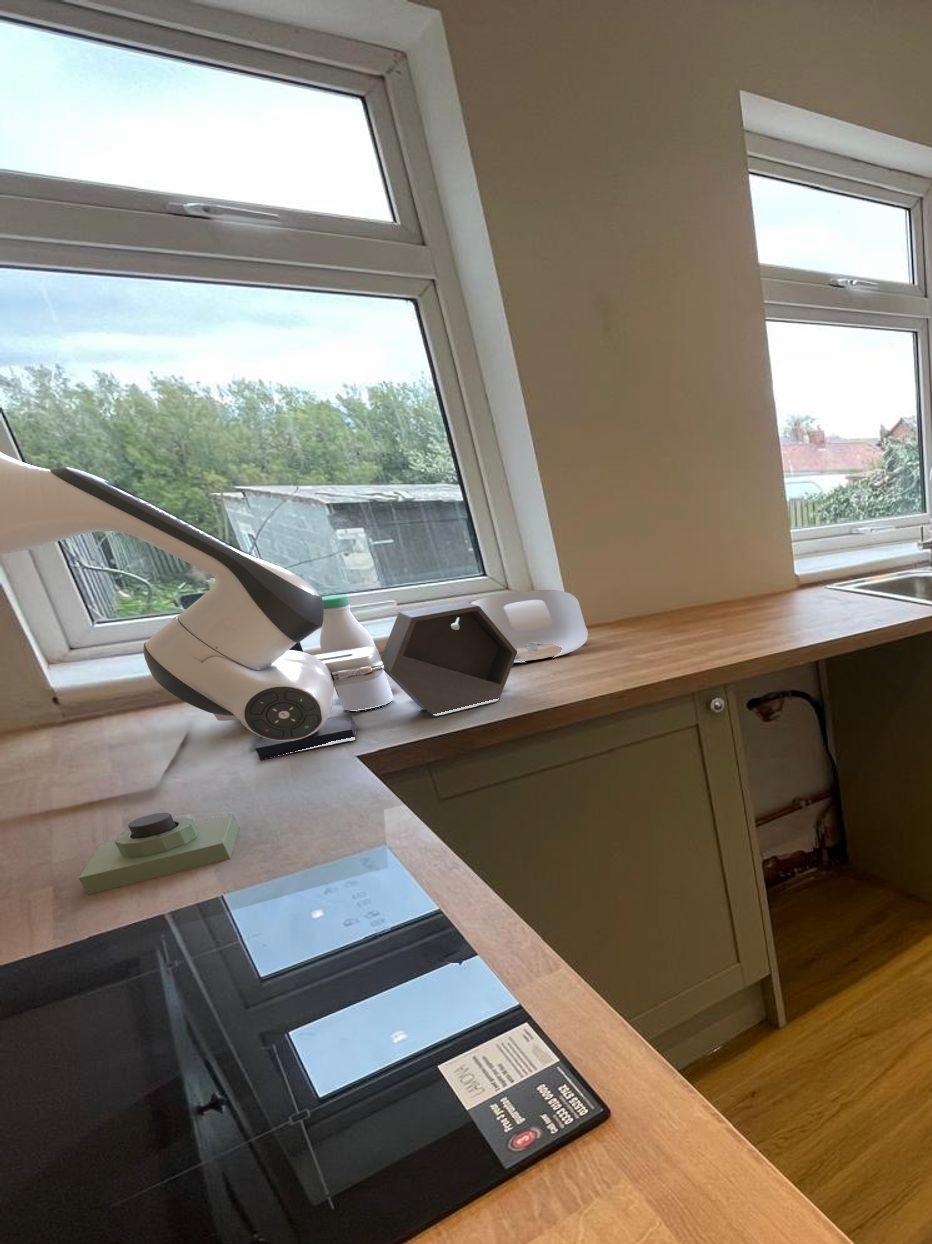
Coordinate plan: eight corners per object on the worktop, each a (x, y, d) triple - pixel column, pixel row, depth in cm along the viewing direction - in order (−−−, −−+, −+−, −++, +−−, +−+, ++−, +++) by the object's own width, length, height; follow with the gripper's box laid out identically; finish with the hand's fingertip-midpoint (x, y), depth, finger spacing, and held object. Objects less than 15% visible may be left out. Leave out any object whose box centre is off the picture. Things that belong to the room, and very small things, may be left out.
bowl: (570, 636, 192) (558, 586, 187) (593, 651, 178) (581, 597, 174) (474, 653, 180) (458, 600, 176) (491, 670, 166) (474, 614, 162)
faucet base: (260, 760, 125) (204, 630, 117) (265, 741, 132) (213, 618, 124) (355, 740, 131) (309, 616, 123) (355, 724, 139) (312, 606, 131)
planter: (378, 703, 134) (424, 586, 135) (366, 694, 138) (410, 581, 139) (487, 730, 147) (528, 623, 148) (473, 721, 152) (513, 618, 153)
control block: (87, 895, 89) (70, 863, 88) (108, 859, 97) (92, 830, 95) (230, 859, 96) (216, 829, 94) (239, 828, 103) (227, 800, 101)
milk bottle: (405, 699, 150) (368, 592, 143) (365, 714, 144) (324, 602, 136) (373, 697, 152) (335, 591, 145) (332, 711, 146) (290, 601, 138)
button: (131, 843, 92) (124, 829, 92) (137, 831, 95) (131, 818, 94) (174, 833, 94) (167, 820, 94) (179, 822, 97) (172, 809, 96)
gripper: (377, 647, 113) (375, 629, 124) (181, 678, 102) (197, 655, 113) (392, 689, 116) (389, 669, 126) (202, 724, 105) (215, 698, 115)
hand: (297, 663), depth 119 cm, fingers open, 8 cm apart
